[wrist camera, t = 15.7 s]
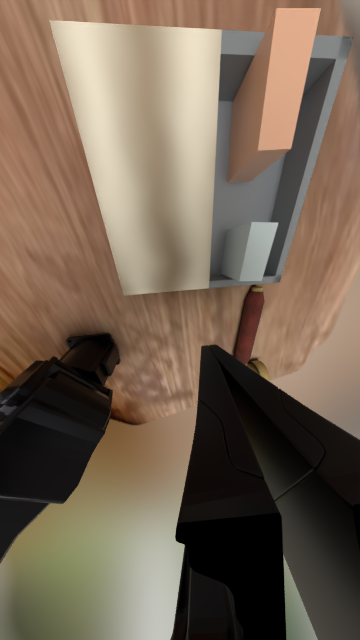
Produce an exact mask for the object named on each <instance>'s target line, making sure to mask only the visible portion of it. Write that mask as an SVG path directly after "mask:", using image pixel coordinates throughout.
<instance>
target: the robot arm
mask: <svg viewBox="0 0 360 640" xmlns="http://www.w3.org/2000/svg"><path fill="white" fill-rule="evenodd" d="M106 336H108V337H106ZM70 340H71V341H70ZM66 341H67V343H68V345H69V347H70V349H69V350H68V351H67V352H66V353H65V354H64V355H63V357H62V358H61V359H60V360H58V358H56V357H54V356H53V357H52V358H50V359H49V360H48V361H47V360H46V361H45V360H44V361H35V362H34V363H33V364H32V365H30V366H29V367H28V368H27V369H26V370H25V371H24V372H22V373H21V374H20V375H19V376H18V377H17V378H16V379H15V380H13V381H12V382H11V383H10V384H9V385H8V386H7V387H6V388H5V389H4V390H3V391H2V392H1V393H0V563H1V562H2V560H3V558H4V557H5V555H6V553H7V552H8V550H9V549H10V547H11V546H12V544H13V543H14V541H15V539H16V538H17V537H18V535H19V534H20V533H21V532H22V531H23V530H24V529H25V528H26V527H27V526H28V525H29V524H30V523H31V522H32V521H33V520H34V519H35V518H36V517H37V516H38V515H39V514H40V513H41V512H42V511H43V510H44V509H45V508H46V507H47V506H48V505H49V504H50V503H56V504H63V503H64V502H65V501H66V500H67V499H68V497H69V496H70V495H71V494H72V492H73V491H74V490H75V488H76V487H77V486H78V484H79V482H80V479H81V477H82V475H83V473H84V471H85V468H86V466H87V463H88V461H89V459H90V457H91V455H92V453H93V451H94V449H95V448H96V446H97V444H98V443H99V441H100V439H101V438H102V437H103V435H104V434H105V430H106V427H107V425H108V422H109V420H110V413H111V403H112V392H113V391H112V390H111V389H108V388H106V387H104V385H105V382H106V380H107V378H108V376H111V375H112V373H113V371H114V368H115V366H116V365H118V364H119V363H120V359H119V354H118V351H117V348H116V346H115V345H114V343H113V340H112V337H111V335H110V334H108V333H105V334H96V335H86V336H77V337H69V338H68V339H67V340H66ZM175 538H176V541H177V542H179V543H182V544H184V545H185V548H184V556H183V563H182V570H181V578H180V585H179V592H178V600H177V607H176V614H175V622H174V629H173V634H172V637H171V640H286V621H285V593H284V592H285V591H284V564H283V554H284V557H285V559H286V562H287V564H288V567H289V569H290V572H291V574H292V577H293V579H294V581H295V584H296V587H297V589H298V591H299V594H300V596H301V599H302V601H303V604H304V606H305V609H306V611H307V614H308V616H309V619H310V621H311V624H312V626H313V629H314V631H315V634H316V636H317V638H318V640H360V440H359V439H358V438H356V437H354V436H353V435H351V434H349V433H348V432H346V431H344V430H343V429H341V428H340V427H338V426H336V425H335V424H333V423H332V422H330V421H328V420H327V419H325V418H323V417H322V416H320V415H319V414H317V413H315V412H314V411H312V410H310V409H309V408H308V407H306V406H305V405H303V404H301V403H300V402H299V401H297V400H295V399H294V398H293V397H291V396H290V395H288V394H287V393H285V392H284V391H282V390H281V389H278V387H276V386H275V385H273V384H272V383H271V382H269V381H268V380H266V379H265V378H264V377H262V376H261V375H259V374H258V373H256V372H255V371H253V370H252V369H251V368H249V367H248V366H246V365H245V364H243V363H242V362H241V361H239V360H238V359H236V358H235V357H233V356H232V355H230V354H229V353H228V352H226V351H225V350H223V349H222V348H220V347H219V346H217V345H209V346H208V345H206V346H202V347H201V360H200V376H199V391H198V406H197V417H196V426H195V433H194V440H193V445H192V450H191V455H190V460H189V466H188V471H187V476H186V481H185V487H184V492H183V497H182V503H181V507H180V512H179V517H178V522H177V527H176V536H175Z"/></svg>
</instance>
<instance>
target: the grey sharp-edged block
mask: <svg viewBox="0 0 360 640" xmlns="http://www.w3.org/2000/svg"><path fill="white" fill-rule="evenodd" d="M277 226H278V223H271V222H250V223H247V224H244V225H241V226H238V227H235V228H232V229H229V230H227V234H226V241H225V248H224V255H223V262H222V269H221V274H222V275H225V276H227V277H230V278H232V279H235V280H237V281H262V278H263V274H264V271H265V268H266V264H267V261H268V257H269V254H270V250H271V247H272V244H273V240H274V237H275V233H276V230H277Z"/></svg>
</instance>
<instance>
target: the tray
mask: <svg viewBox="0 0 360 640" xmlns="http://www.w3.org/2000/svg"><path fill="white" fill-rule="evenodd" d="M264 34H265V32H252V31H234V30H222V36H221V56H220V77H219V97H218V117H217V137H216V157H215V177H214V197H213V217H212V237H211V257H210V277H209V288H218V287H230V286H241V285H253V284H264V283H276V282H280V279H281V276H282V272H283V269H284V266H285V262H286V259H287V256H288V252H289V249H290V246H291V242H292V239H293V236H294V233H295V229H296V226H297V223H298V219H299V216H300V213H301V209H302V206H303V203H304V199H305V196H306V193H307V189H308V186H309V183H310V180H311V176H312V173H313V170H314V166H315V163H316V160H317V156H318V153H319V150H320V146H321V143H322V140H323V136H324V133H325V130H326V127H327V123H328V120H329V117H330V113H331V110H332V107H333V103H334V100H335V97H336V93H337V90H338V87H339V83H340V80H341V77H342V73H343V70H344V67H345V64H346V60H347V57H348V54H349V50H350V47H351V44H352V40H353V37H343V36H325V35H315V38H314V43H313V48H312V53H311V57H310V62H309V67H308V71H307V76H306V81H305V86H304V90H303V95H302V100H301V104H300V109H299V114H298V119H297V123H296V128H295V133H294V137H293V142H292V147H291V149H290V150H289V151H288V152H286V153H285V154H284V155H283V156H281V157H280V158H279V159H278V160H276V161H275V162H274V163H273V164H271V165H270V166H269V167H268V168H266V169H265V170H264V171H263V172H261V173H260V174H259V175H258V176H256V177H255V178H254V179H253V180H251V181H247V182H233V183H228V167H229V151H230V135H231V119H232V103H233V101H234V99H235V97H236V94H237V92H238V90H239V88H240V86H241V84H242V82H243V79H244V77H245V75H246V73H247V71H248V69H249V67H250V64H251V62H252V60H253V58H254V56H255V54H256V51H257V49H258V47H259V45H260V43H261V41H262V39H263V36H264ZM250 222H271V223H278V226H277V230H276V233H275V237H274V240H273V244H272V247H271V250H270V254H269V257H268V261H267V264H266V268H265V271H264V274H263V278H262V281H237V280H235V279H232V278H230V277H227V276H225V275H222V274H221V269H222V262H223V255H224V248H225V241H226V234H227V230H229V229H232V228H235V227H238V226H241V225H244V224H247V223H250Z"/></svg>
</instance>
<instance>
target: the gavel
mask: <svg viewBox="0 0 360 640" xmlns="http://www.w3.org/2000/svg"><path fill="white" fill-rule="evenodd" d="M261 285H262V284H255V286H254V287H252V288H251V291H250V293H249V295H248V296H247V298H246V301H245V306H244V311H243V316H242V322H241V327H240V332H239V337H238V343H237V348H236V353H235V358H236V359H238V360H239V361H241V362H242V363H243V364H245V365H246V366H248V367H249V368H251V369H252V370H253V371H255V372H256V373H258V374H259V375H261V376H262V377H264V378H265V379H266V380H268V381H269V372H268V370H267V368H266V366H265V365H264V364H263V363H262V362H261V361H249V359H250V356H251V352H252V348H253V344H254V340H255V336H256V332H257V328H258V324H259V321H260V317H261V313H262V309H263V305H264V295H263V287H261ZM248 361H249V362H248ZM247 363H248V364H247Z"/></svg>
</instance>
